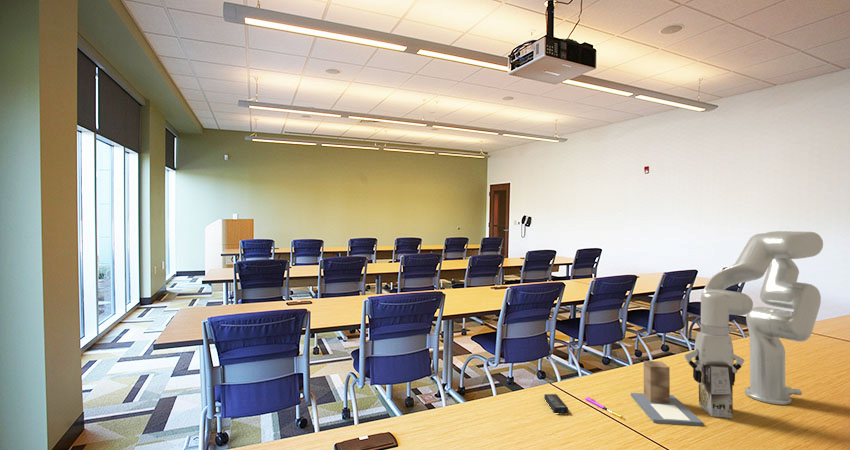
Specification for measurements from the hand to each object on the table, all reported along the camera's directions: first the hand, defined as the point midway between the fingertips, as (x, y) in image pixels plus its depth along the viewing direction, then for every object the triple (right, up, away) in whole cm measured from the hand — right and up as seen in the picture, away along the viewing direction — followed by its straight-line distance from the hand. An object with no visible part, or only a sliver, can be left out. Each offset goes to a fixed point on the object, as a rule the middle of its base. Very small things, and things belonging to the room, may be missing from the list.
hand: (713, 382), depth 132 cm
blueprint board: (-15, -10, +2) cm, 18 cm away
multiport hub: (-50, -10, +4) cm, 52 cm away
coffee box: (+1, -10, 0) cm, 10 cm away
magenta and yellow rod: (-34, -10, +3) cm, 36 cm away
